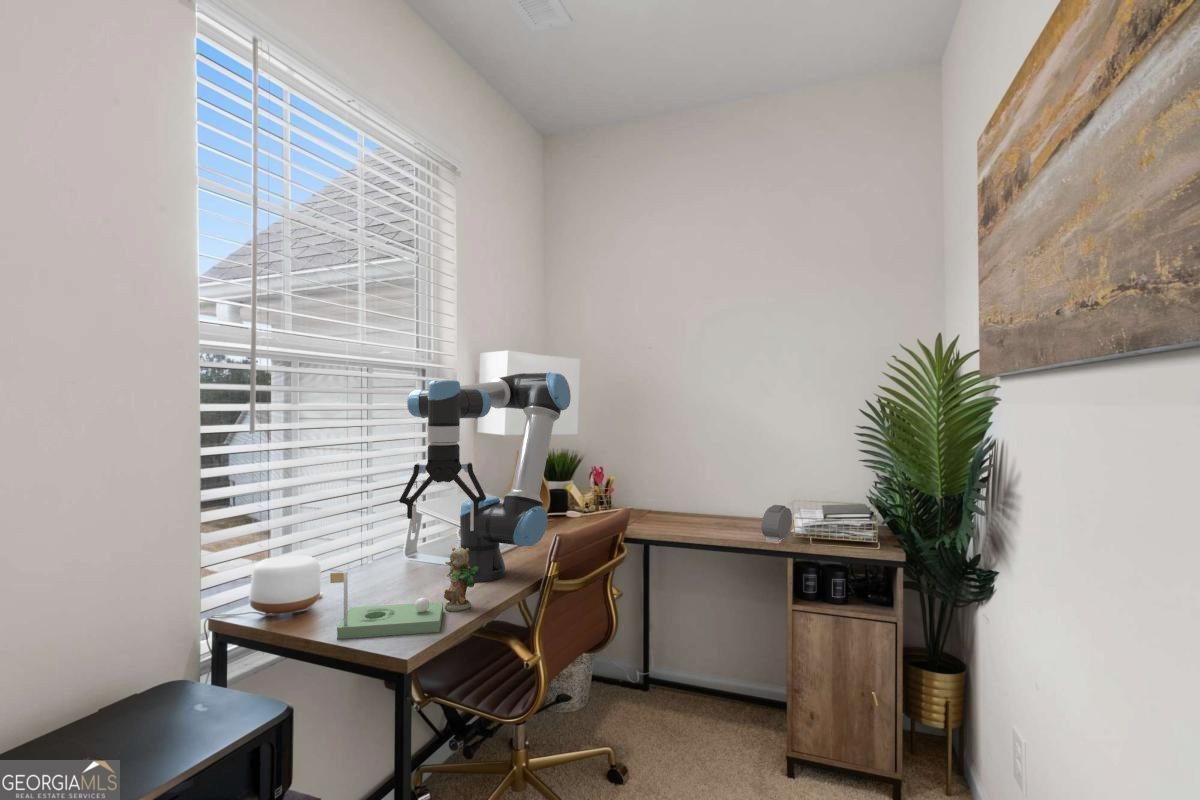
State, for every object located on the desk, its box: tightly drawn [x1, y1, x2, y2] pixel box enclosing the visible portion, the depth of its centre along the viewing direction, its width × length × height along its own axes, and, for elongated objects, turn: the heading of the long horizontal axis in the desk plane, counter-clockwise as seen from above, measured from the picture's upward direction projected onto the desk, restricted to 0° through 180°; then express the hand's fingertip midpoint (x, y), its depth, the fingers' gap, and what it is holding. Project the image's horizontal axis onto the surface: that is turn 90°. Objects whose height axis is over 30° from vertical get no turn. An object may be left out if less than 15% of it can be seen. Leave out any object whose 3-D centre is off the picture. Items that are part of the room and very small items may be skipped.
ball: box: [414, 597, 430, 613], centre depth 142 cm, size 3×3×3 cm
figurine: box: [443, 546, 479, 613], centre depth 152 cm, size 9×8×15 cm
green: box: [336, 601, 444, 640], centre depth 141 cm, size 22×13×2 cm, turn 101°
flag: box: [329, 571, 349, 626], centre depth 134 cm, size 4×1×12 cm, turn 101°
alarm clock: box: [761, 504, 793, 541], centre depth 228 cm, size 23×6×13 cm, turn 150°
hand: (443, 531), depth 145 cm, fingers open, 13 cm apart
